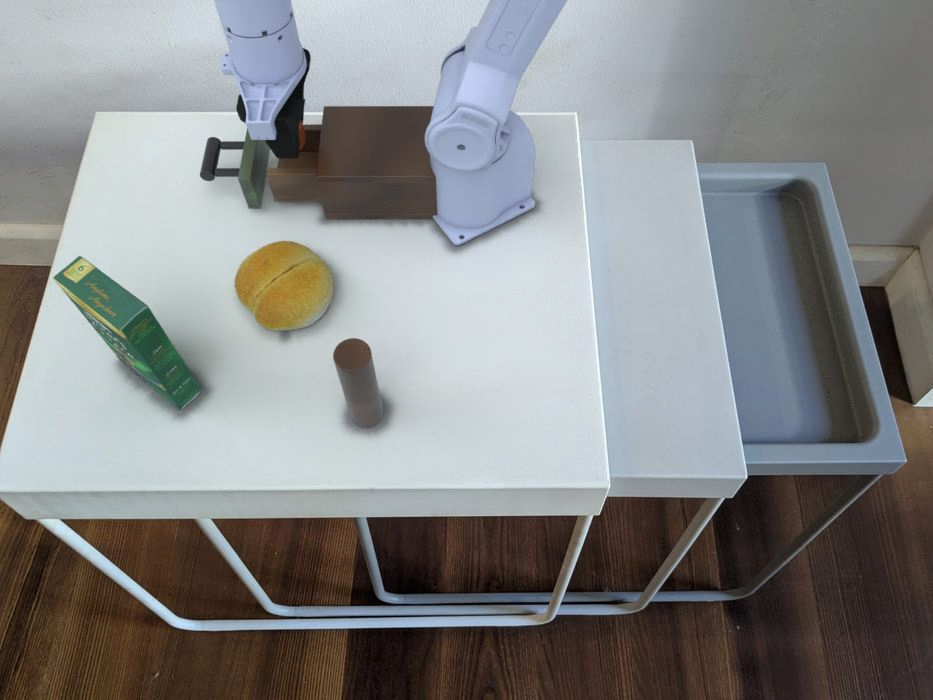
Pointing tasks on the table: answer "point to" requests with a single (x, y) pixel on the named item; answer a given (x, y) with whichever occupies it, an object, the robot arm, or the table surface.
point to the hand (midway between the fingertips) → (289, 140)
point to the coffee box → (129, 331)
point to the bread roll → (284, 285)
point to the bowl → (301, 135)
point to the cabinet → (376, 163)
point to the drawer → (285, 181)
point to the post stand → (359, 382)
